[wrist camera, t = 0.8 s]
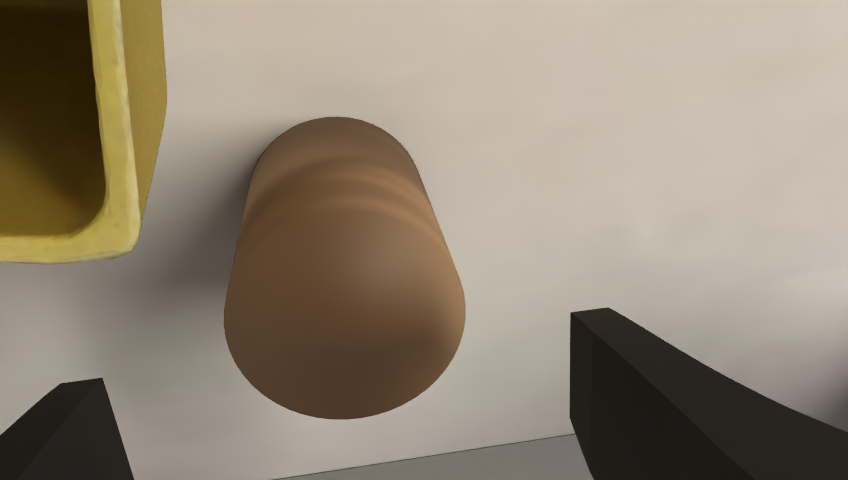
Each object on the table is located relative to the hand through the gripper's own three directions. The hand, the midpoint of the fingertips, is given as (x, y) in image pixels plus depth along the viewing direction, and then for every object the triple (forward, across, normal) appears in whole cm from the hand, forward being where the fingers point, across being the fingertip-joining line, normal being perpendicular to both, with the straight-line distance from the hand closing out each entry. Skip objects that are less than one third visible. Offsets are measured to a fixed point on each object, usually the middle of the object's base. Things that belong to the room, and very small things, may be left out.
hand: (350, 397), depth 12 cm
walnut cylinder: (+8, 0, 0) cm, 8 cm away
